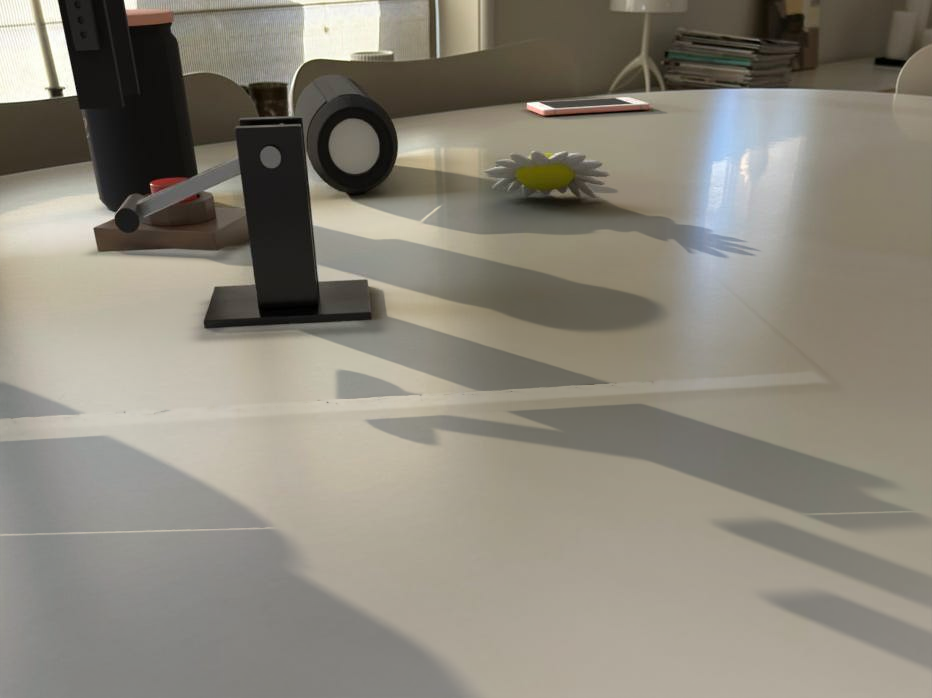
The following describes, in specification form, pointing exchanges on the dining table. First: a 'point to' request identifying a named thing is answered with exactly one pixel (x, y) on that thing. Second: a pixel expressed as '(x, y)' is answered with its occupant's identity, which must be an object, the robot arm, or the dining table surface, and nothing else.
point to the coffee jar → (144, 118)
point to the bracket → (281, 238)
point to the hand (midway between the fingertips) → (111, 100)
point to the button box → (179, 228)
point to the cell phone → (587, 106)
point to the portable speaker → (346, 134)
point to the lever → (172, 195)
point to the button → (167, 182)
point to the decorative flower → (547, 173)
